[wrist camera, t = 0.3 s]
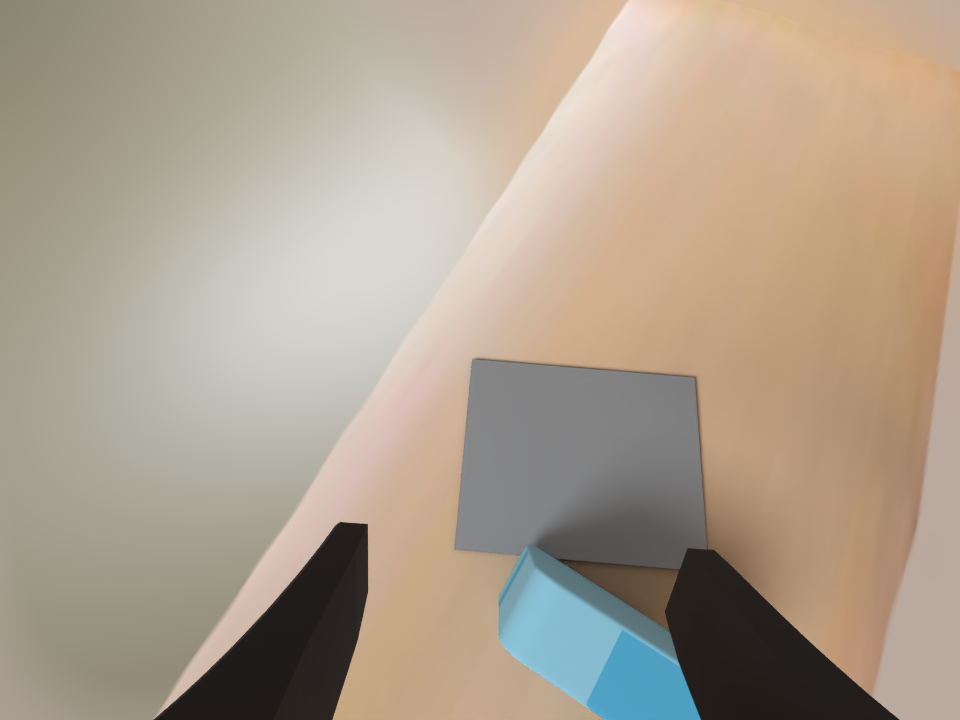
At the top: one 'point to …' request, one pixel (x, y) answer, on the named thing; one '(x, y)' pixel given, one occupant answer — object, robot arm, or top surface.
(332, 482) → the top surface
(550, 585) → the blue square block
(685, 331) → the top surface
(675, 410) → the mat
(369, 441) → the top surface
